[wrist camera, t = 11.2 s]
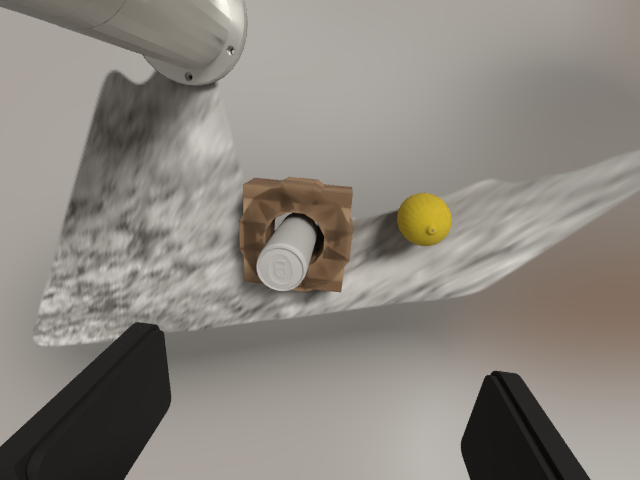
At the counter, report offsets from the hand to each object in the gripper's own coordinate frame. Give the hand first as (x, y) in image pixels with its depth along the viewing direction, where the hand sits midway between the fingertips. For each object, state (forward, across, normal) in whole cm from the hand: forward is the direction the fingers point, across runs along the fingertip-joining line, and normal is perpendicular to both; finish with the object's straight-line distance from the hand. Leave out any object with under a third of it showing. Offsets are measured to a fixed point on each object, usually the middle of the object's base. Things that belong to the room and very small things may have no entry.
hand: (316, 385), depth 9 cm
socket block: (+30, +5, +6) cm, 31 cm away
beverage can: (+30, +5, +6) cm, 31 cm away
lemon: (+30, -9, +2) cm, 32 cm away
